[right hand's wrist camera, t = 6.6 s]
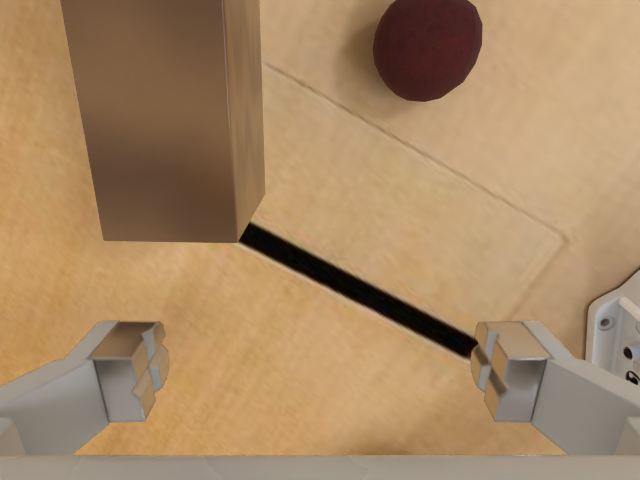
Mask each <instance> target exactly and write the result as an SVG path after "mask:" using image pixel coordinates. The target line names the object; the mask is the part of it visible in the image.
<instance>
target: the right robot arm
mask: <svg viewBox="0 0 640 480" xmlns="http://www.w3.org/2000/svg"><path fill="white" fill-rule="evenodd" d="M603 319H604V321H602V320H603ZM601 321H602V322H601ZM164 338H165V331H164V326H163V324H162V323H161V322H160V321H120V320H115V321H100V322H98V323H97V324H96V325H95V326H94V327H93V328H92V329H91V330H90V331H89V332H88V333H87V334H86V336H85V337H84V338H83V339H82V340H81V341H80V342H79V343H78V344H77V345H76V346H75V347H74V349H73V350H72V351H71V352H70V353H69V354H68V355H67V356H66V357H65V358H64V359H57V360H55V361H52V362H50V363H48V364H46V365H44V366H42V367H40V368H38V369H36V370H34V371H32V372H29V373H27V374H25V375H23V376H21V377H19V378H17V379H15V380H13V381H11V382H8V383H6V384H4V385H2V386H0V480H640V270H639V271H637V272H636V273H635V274H634V275H633V276H632V277H631V278H630V279H629V280H628V281H627V282H626V283H624V284H623V285H622V286H621V287H619V288H618V289H616V290H614V291H611V292H609V293H607V294H605V295H603V296H601V297H600V298H598V299H596V300H595V301H594V302H593V303H592V304H591V305H590V306H589V309H588V320H587V338H586V356H585V360H583V359H576V358H575V357H574V356H573V355H572V354H571V353H570V352H569V351H568V350H567V349H566V347H565V346H564V345H563V344H562V343H561V342H560V341H559V340H558V339H557V338H556V337H555V336H554V334H553V333H552V332H551V331H550V330H549V329H548V328H547V327H546V326H545V325H544V324H543V323H542V322H540V321H538V320H530V321H503V322H478V324H477V326H476V330H475V338H476V339H477V341H478V343H479V344H478V345H477V346H476V347H475V348H474V349H473V350H472V354H471V372H472V376H473V379H474V381H475V383H476V386H477V387H478V388H479V389H481V390H482V391H483V392H485V398H484V401H485V403H486V405H487V407H488V409H489V411H490V413H491V415H492V417H493V419H494V421H495V422H530V423H531V425H533V426H534V427H535V428H536V429H537V430H539V431H540V432H541V433H542V434H544V435H545V436H546V437H547V438H548V439H550V440H551V441H552V442H553V443H555V444H556V445H557V446H558V447H560V448H561V449H562V450H563V451H564V452H566V453H567V454H568V455H72V454H73V453H74V452H76V451H77V450H78V449H79V448H81V447H82V446H83V445H84V444H86V443H87V442H88V441H89V440H90V439H92V438H93V437H94V436H95V435H97V434H98V433H99V432H100V431H101V430H103V429H104V428H105V427H106V426H108V425H109V423H110V422H145V421H146V419H147V417H148V415H149V413H150V411H151V409H152V407H153V405H154V403H155V401H156V399H155V392H157V391H158V390H159V389H161V388H162V387H163V385H164V383H165V381H166V379H167V375H168V371H169V354H168V350H167V349H166V348H165V347H164V346H163V345H162V344H161V343H162V341H163V339H164Z"/></svg>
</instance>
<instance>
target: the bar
mask: <svg viewBox="0 0 640 480" xmlns="http://www.w3.org/2000/svg"><path fill="white" fill-rule="evenodd" d="M61 6H62V12H63V17H64V23H65V28H66V34H67V39H68V45H69V51H70V56H71V62H72V67H73V73H74V78H75V84H76V89H77V95H78V101H79V106H80V112H81V117H82V123H83V128H84V134H85V140H86V145H87V151H88V156H89V162H90V167H91V173H92V178H93V184H94V190H95V195H96V201H97V206H98V212H99V217H100V223H101V229H102V234H103V239H104V240H105V241H149V242H203V243H238V241H239V239H240V237H241V235H242V234H243V232H244V230H245V228H246V227H247V225H248V223H249V221H250V220H251V218H252V216H253V214H254V213H255V211H256V209H257V207H258V206H259V204H260V202H261V200H262V199H263V197H264V195H265V171H264V138H263V106H262V74H261V42H260V9H259V0H61Z"/></svg>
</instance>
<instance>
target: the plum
mask: <svg viewBox="0 0 640 480" xmlns="http://www.w3.org/2000/svg"><path fill="white" fill-rule="evenodd" d="M481 45H482V22H481V20H480V17H479V14H478V12H477V9H476V7H475V6H474V5H473V4H471V3H470V2H469V1H468V0H396V1H395V2H393V3H392V4H391V5H390V6H389V8H388V9H387V11H386V12H385V13H384V15H383V16H382V18H381V21H380V23H379V25H378V28H377V30H376V33H375V38H374V45H373V54H374V61H375V65H376V67H377V69H378V72H379V74H380V76H381V77H382V79H383V80H384V82H385V83H386V85H387V86H388V87H389V88H390V89H391V90H392V91H393V92H394V93H395V94H396V95H398V96H400V97H402V98H404V99H406V100H409V101H420V102H426V101H430V100H434V99H439V98H441V97H443V96H444V95H446V94H447V93H448V92H450V91H451V90H453V89H454V88H456V87H457V86H458V85H460V84H461V83H463V82H464V80H465V79H466V77H467V76H468V74H469V73H470V71H471V70H472V68H473V67H474V65H475V63H476V60H477V57H478V54H479V51H480V48H481Z"/></svg>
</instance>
